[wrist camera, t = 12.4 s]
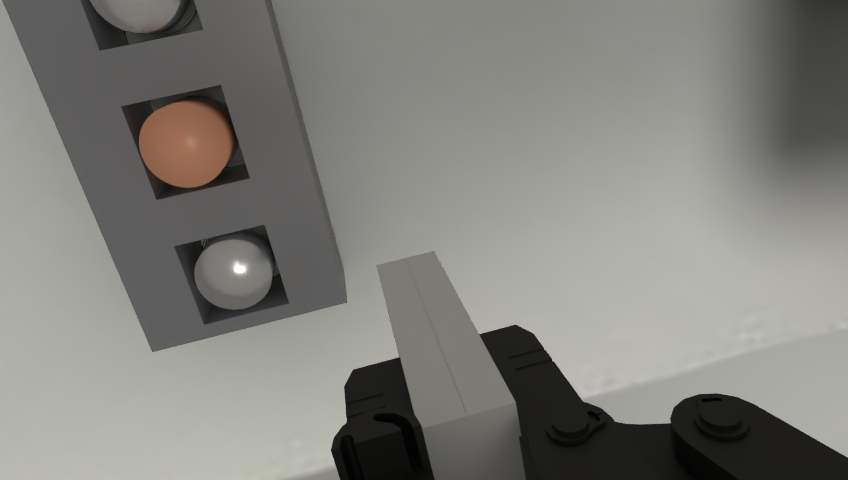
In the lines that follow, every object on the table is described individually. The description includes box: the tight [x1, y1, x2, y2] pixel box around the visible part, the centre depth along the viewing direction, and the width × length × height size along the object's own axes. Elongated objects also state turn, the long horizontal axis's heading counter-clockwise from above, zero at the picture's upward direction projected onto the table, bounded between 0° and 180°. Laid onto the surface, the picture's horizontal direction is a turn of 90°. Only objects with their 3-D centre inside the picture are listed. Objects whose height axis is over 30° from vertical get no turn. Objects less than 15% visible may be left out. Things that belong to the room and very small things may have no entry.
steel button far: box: [194, 225, 276, 310], centre depth 36 cm, size 4×4×4 cm
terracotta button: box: [139, 96, 238, 188], centre depth 32 cm, size 4×4×4 cm
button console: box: [2, 0, 347, 352], centre depth 33 cm, size 12×23×5 cm, turn 11°
